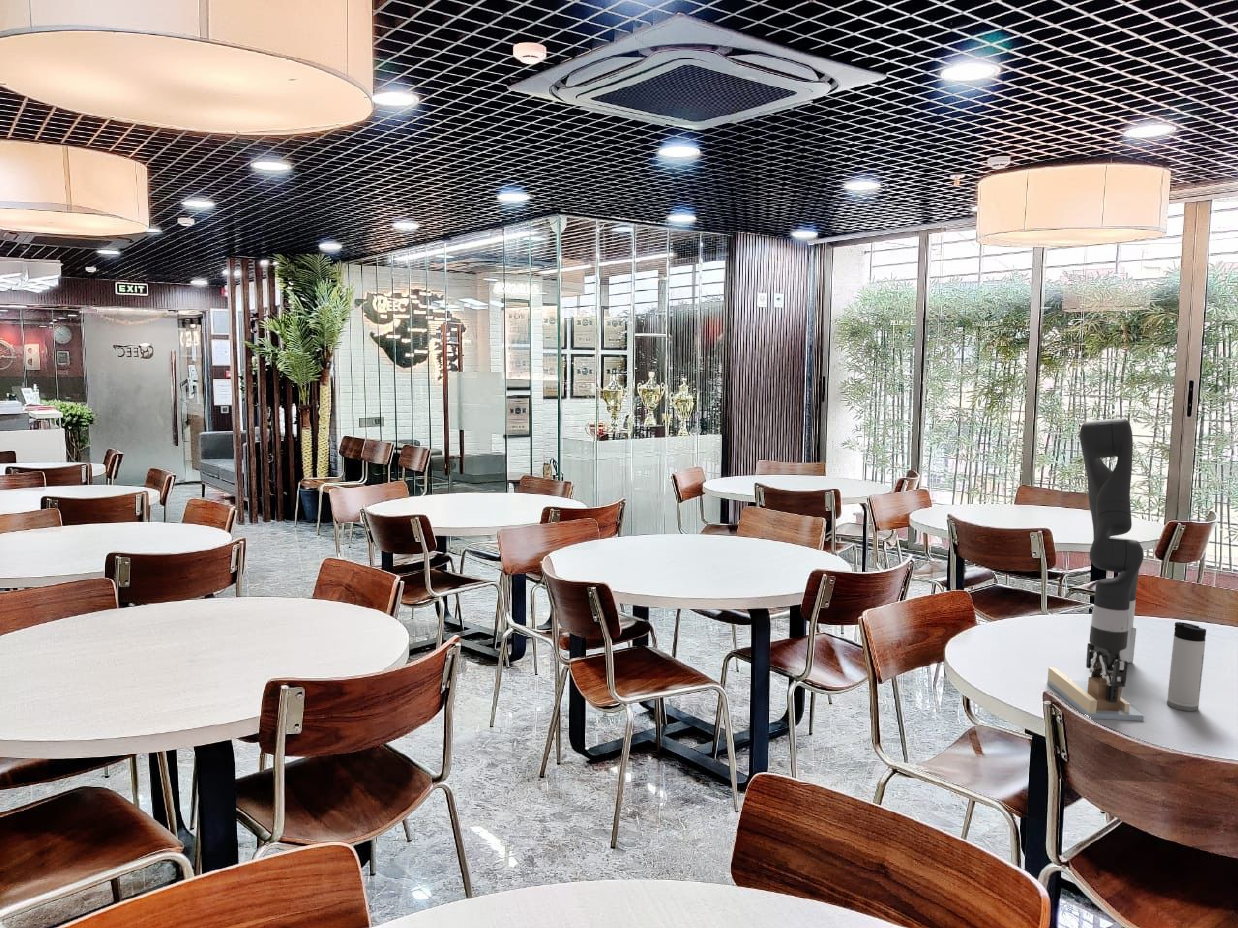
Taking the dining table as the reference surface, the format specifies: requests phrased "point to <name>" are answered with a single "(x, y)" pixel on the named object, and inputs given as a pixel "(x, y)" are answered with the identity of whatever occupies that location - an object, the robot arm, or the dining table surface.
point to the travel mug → (1186, 667)
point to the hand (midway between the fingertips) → (1103, 695)
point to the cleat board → (1088, 698)
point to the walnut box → (1102, 694)
